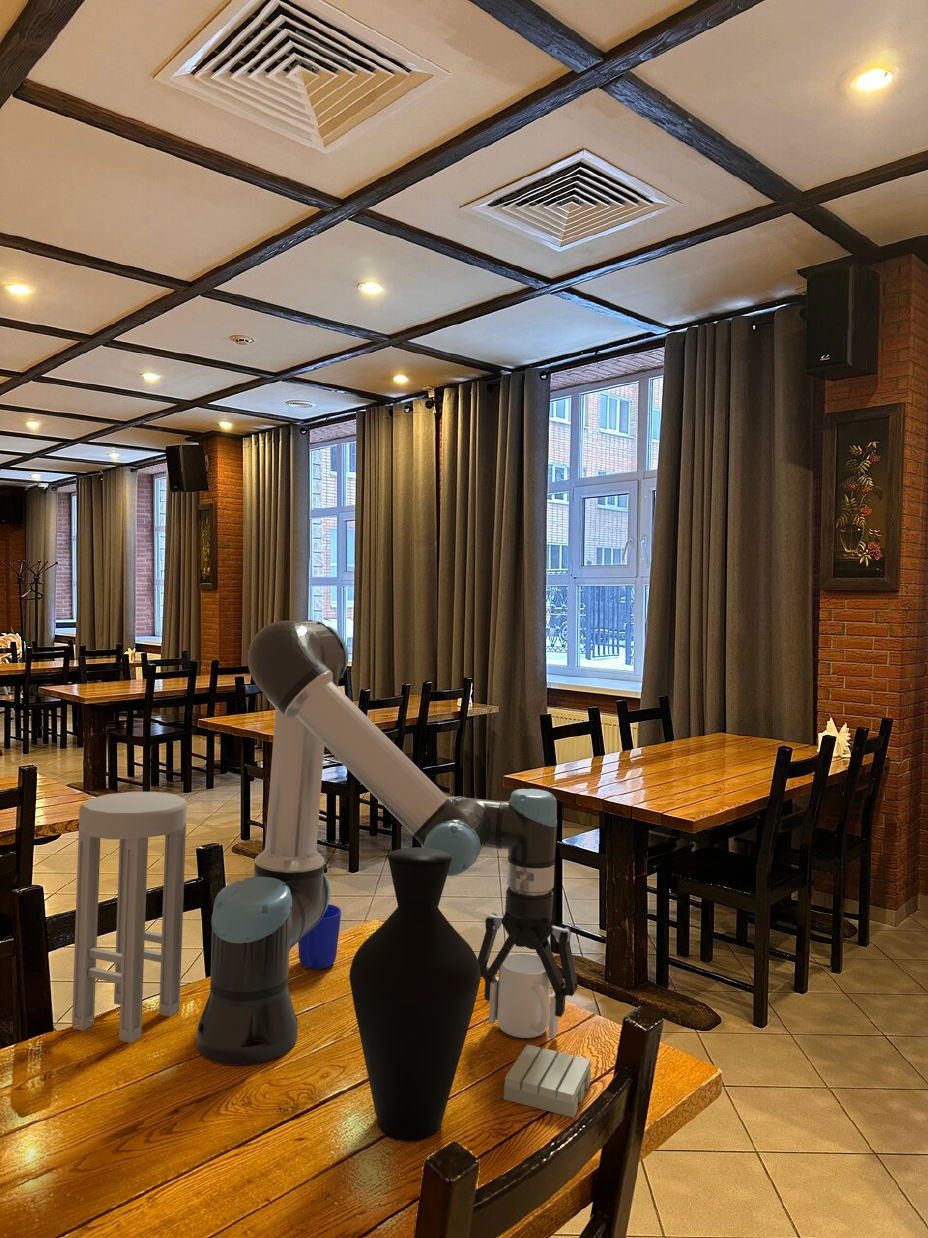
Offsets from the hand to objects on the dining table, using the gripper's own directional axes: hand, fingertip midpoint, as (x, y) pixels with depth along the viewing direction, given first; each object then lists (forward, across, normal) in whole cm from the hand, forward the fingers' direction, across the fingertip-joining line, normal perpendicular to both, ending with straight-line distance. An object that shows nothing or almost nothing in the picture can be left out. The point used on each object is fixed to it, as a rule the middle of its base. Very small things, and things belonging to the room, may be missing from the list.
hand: (522, 1027), depth 136 cm
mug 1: (+2, -43, +6) cm, 43 cm away
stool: (+2, -59, -24) cm, 63 cm away
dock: (+1, +8, -14) cm, 16 cm away
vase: (+1, -6, -29) cm, 30 cm away
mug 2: (+1, +1, 0) cm, 1 cm away
